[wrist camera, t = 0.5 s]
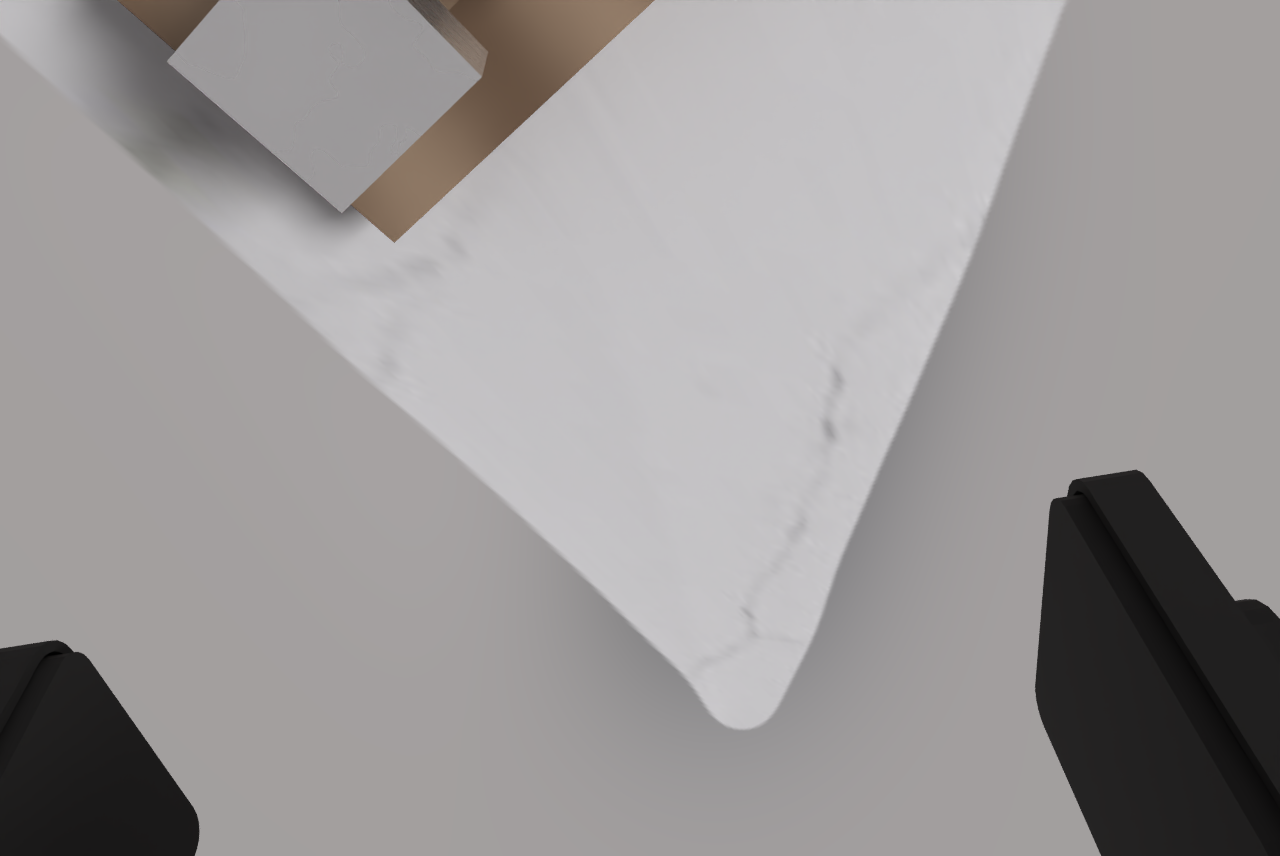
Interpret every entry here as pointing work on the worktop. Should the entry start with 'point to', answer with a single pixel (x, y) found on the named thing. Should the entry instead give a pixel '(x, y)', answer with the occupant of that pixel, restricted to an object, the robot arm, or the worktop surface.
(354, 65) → the button
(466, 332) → the worktop surface
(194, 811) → the robot arm
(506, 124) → the button panel
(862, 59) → the worktop surface
